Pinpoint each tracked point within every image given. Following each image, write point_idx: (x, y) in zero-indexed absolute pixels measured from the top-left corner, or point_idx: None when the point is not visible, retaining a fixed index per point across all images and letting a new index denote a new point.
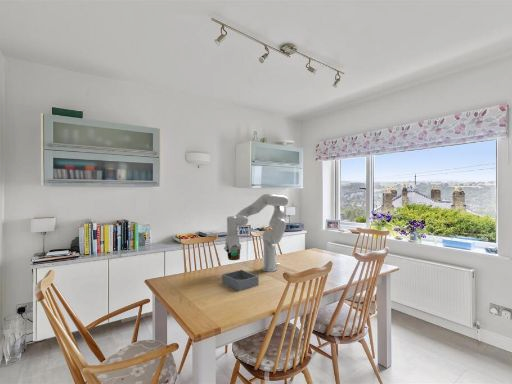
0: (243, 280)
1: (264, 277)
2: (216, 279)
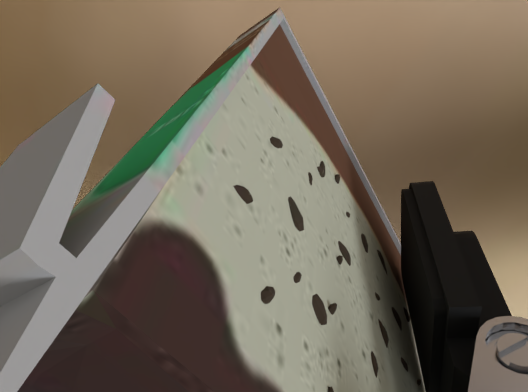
0: None
1: (525, 299)
2: (42, 109)
